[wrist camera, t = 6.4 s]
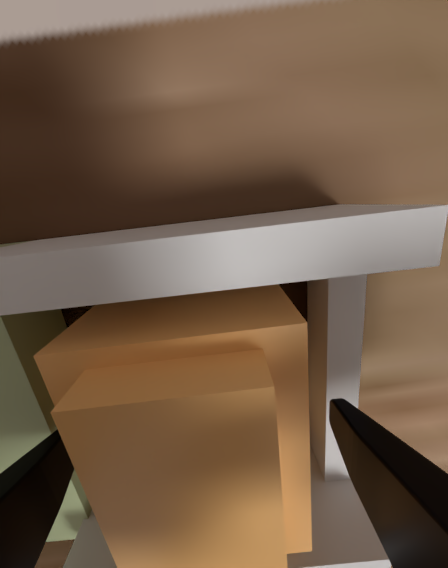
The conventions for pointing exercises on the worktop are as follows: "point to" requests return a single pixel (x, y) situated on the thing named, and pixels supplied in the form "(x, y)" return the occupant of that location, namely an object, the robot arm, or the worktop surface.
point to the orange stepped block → (189, 426)
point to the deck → (207, 278)
